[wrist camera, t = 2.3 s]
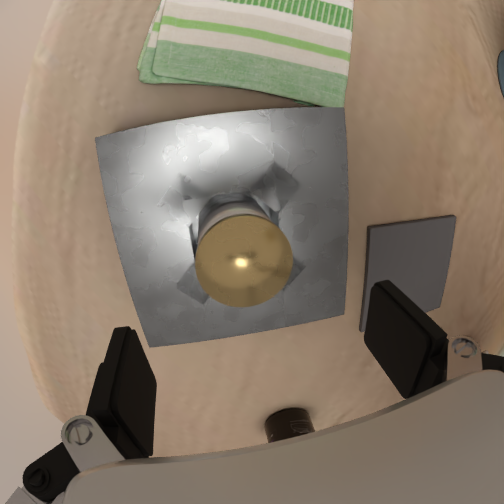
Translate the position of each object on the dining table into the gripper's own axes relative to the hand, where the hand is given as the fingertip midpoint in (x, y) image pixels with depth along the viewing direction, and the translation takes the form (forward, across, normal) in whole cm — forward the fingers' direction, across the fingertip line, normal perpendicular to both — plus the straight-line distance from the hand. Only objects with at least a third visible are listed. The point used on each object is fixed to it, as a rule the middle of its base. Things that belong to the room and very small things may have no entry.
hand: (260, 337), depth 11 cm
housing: (+16, -1, 0) cm, 16 cm away
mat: (+16, -21, +10) cm, 28 cm away
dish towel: (+17, -6, -22) cm, 28 cm away
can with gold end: (+15, -1, 0) cm, 15 cm away
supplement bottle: (+16, -5, +32) cm, 36 cm away
